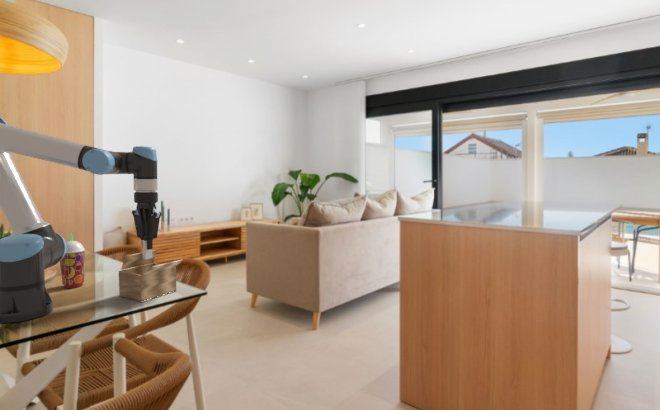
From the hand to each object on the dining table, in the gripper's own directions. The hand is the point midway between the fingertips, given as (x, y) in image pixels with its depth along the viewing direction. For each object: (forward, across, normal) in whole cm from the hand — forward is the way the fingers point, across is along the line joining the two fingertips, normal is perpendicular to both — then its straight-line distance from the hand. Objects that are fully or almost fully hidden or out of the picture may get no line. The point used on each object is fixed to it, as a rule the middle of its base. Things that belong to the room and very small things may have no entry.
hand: (147, 258), depth 138 cm
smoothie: (+13, +32, +8) cm, 35 cm away
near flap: (+4, -6, 0) cm, 7 cm away
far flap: (+4, +6, 0) cm, 7 cm away
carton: (+13, 0, 0) cm, 13 cm away
